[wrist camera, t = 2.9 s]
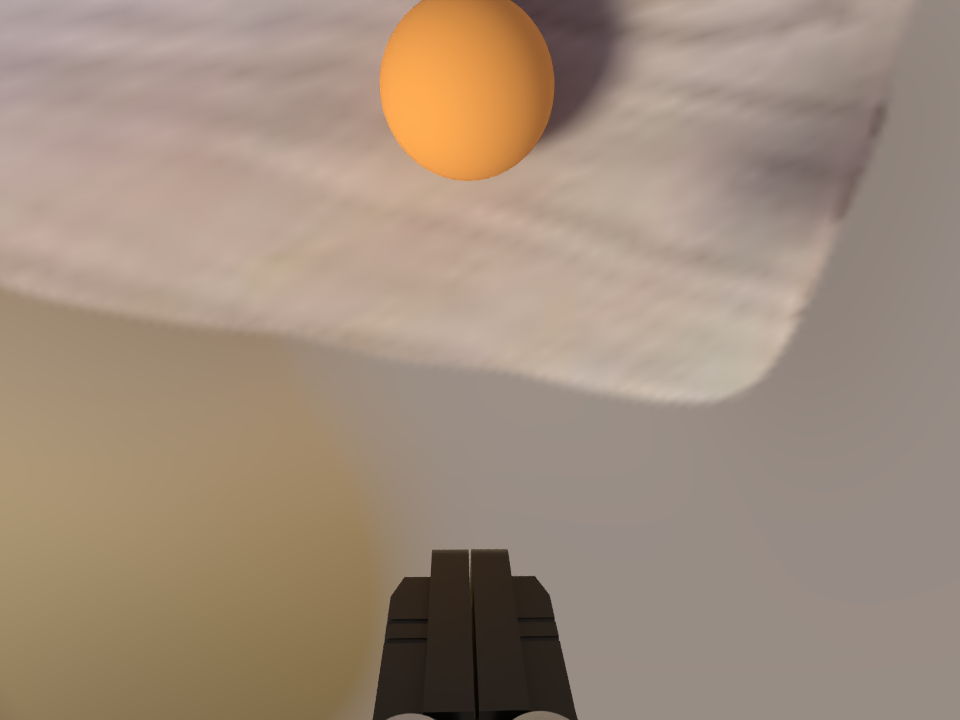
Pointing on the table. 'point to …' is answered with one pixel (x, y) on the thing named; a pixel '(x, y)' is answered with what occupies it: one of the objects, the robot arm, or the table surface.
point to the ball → (467, 86)
